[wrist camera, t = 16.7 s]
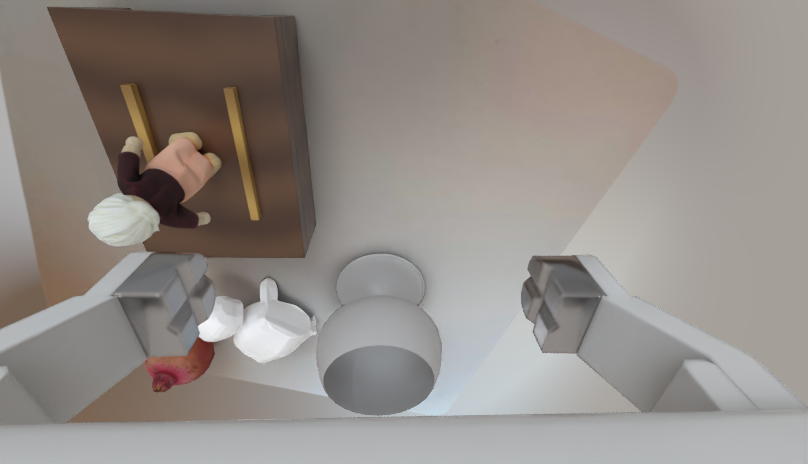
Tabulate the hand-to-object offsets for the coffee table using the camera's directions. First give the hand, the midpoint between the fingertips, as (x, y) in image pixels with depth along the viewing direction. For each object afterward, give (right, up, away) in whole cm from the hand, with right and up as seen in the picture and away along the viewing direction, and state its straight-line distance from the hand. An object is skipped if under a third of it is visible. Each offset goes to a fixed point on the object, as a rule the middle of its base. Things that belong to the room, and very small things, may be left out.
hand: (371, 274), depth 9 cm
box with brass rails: (-18, +11, +29) cm, 35 cm away
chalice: (-2, -6, +41) cm, 41 cm away
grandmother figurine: (-17, +8, +23) cm, 30 cm away
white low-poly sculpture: (-18, -9, +41) cm, 46 cm away
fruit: (-30, -13, +43) cm, 54 cm away
